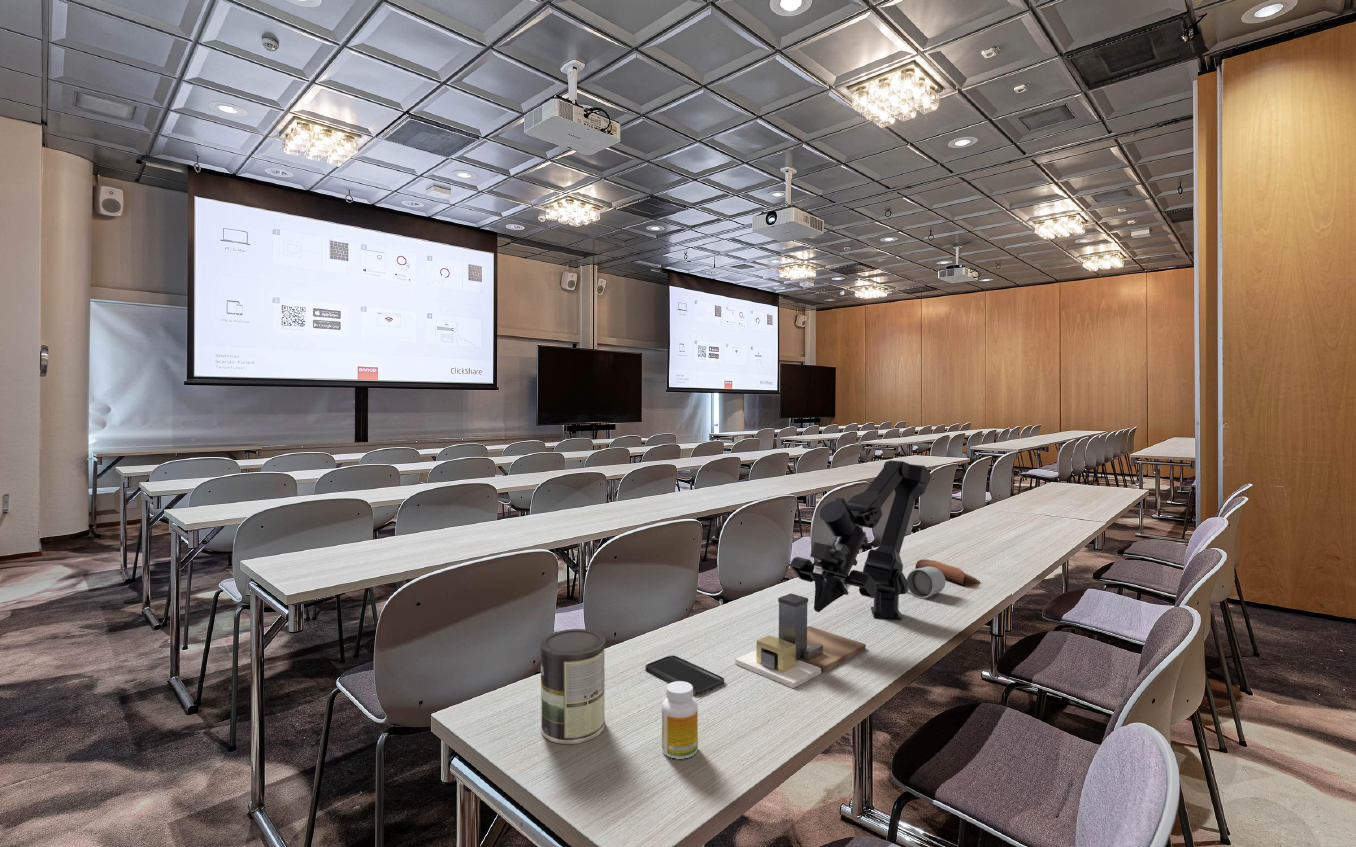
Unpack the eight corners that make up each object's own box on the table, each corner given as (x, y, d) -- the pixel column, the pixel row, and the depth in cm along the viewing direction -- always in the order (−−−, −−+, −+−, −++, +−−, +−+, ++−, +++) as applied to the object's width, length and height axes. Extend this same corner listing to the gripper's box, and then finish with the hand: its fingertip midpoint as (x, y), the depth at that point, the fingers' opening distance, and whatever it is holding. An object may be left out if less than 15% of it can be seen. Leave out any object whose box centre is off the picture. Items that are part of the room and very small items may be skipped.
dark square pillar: (790, 648, 126) (790, 593, 126) (807, 654, 123) (808, 598, 123) (759, 663, 119) (759, 604, 119) (776, 670, 116) (777, 610, 116)
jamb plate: (763, 651, 128) (763, 646, 128) (820, 673, 118) (820, 668, 118) (735, 663, 122) (735, 658, 122) (793, 688, 112) (793, 682, 112)
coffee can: (531, 742, 94) (530, 652, 94) (552, 708, 104) (551, 627, 104) (597, 746, 93) (596, 655, 93) (611, 712, 103) (611, 629, 103)
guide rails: (793, 643, 130) (793, 634, 129) (823, 653, 124) (823, 644, 124) (779, 650, 126) (779, 641, 126) (808, 661, 121) (808, 652, 121)
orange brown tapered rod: (985, 582, 175) (977, 564, 173) (969, 598, 172) (961, 579, 171) (934, 566, 191) (927, 549, 189) (920, 580, 189) (912, 563, 187)
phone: (672, 654, 125) (726, 679, 114) (672, 659, 125) (726, 684, 114) (642, 665, 119) (696, 692, 108) (642, 671, 120) (696, 699, 108)
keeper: (769, 656, 123) (769, 634, 123) (795, 666, 119) (795, 644, 118) (756, 662, 120) (756, 640, 120) (782, 672, 116) (783, 650, 116)
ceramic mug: (947, 594, 164) (947, 566, 164) (933, 601, 159) (933, 572, 159) (909, 586, 172) (909, 559, 172) (895, 592, 167) (895, 564, 166)
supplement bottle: (705, 752, 92) (705, 688, 91) (675, 765, 89) (675, 699, 88) (683, 736, 96) (683, 675, 96) (654, 747, 93) (654, 684, 93)
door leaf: (809, 630, 139) (809, 625, 139) (865, 648, 129) (865, 644, 129) (765, 650, 128) (765, 645, 128) (822, 672, 118) (822, 667, 118)
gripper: (794, 521, 138) (763, 580, 131) (870, 534, 125) (840, 601, 118) (814, 549, 144) (786, 607, 137) (889, 565, 130) (861, 630, 123)
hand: (816, 610), depth 129 cm, fingers closed
